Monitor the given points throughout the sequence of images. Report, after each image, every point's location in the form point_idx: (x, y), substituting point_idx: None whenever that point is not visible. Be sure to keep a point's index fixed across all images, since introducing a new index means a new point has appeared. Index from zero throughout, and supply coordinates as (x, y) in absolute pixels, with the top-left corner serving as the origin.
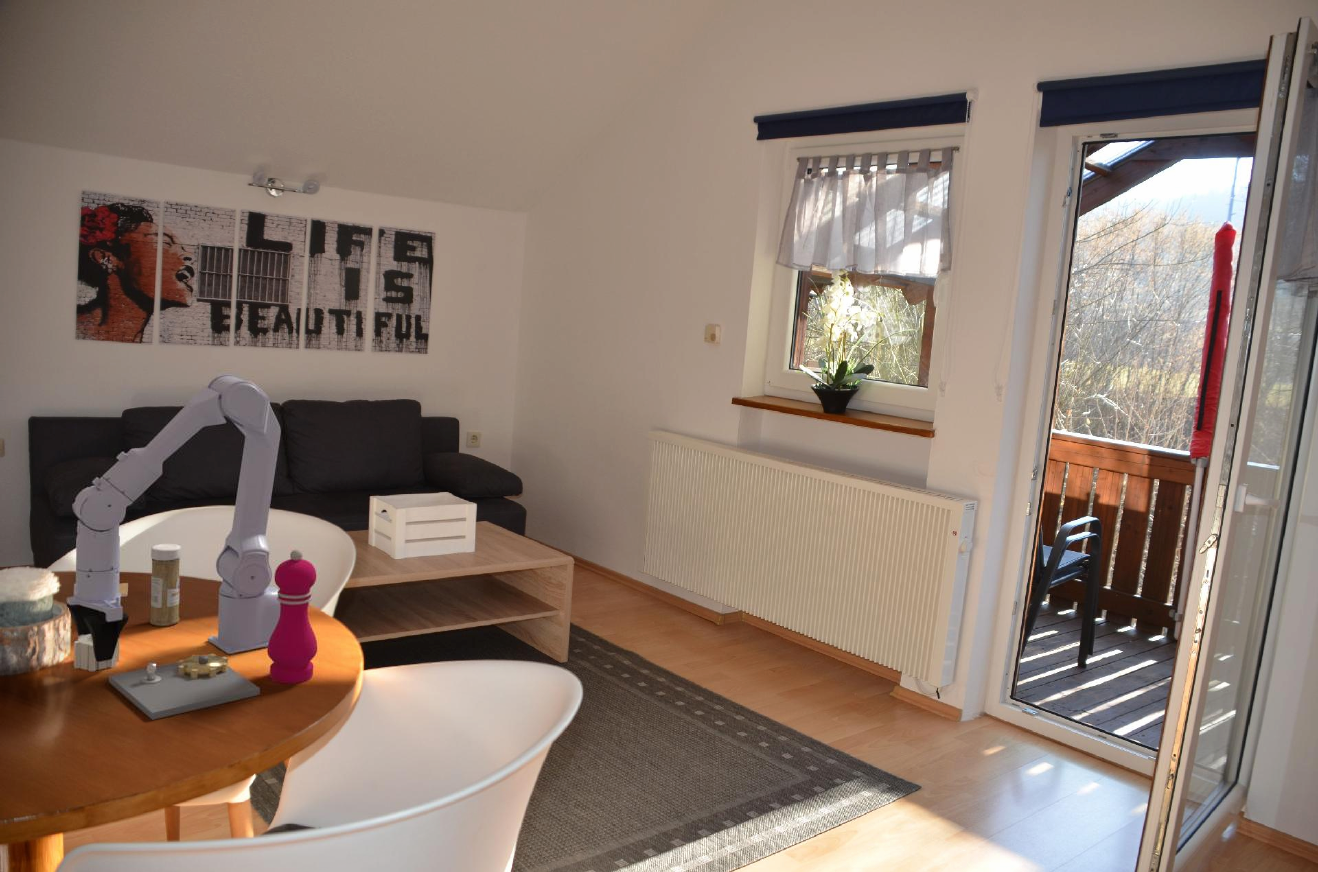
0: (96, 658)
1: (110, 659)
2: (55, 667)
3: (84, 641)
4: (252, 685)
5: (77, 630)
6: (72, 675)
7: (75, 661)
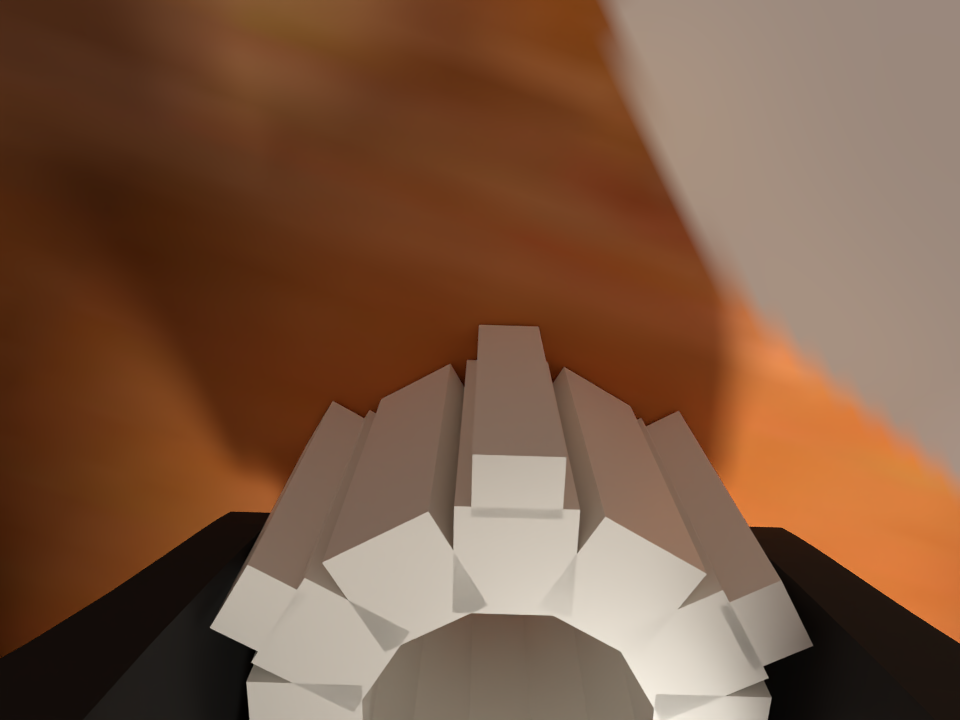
0: (214, 521)
1: None
2: (648, 167)
3: (478, 570)
4: None
5: (941, 645)
6: (301, 231)
7: (491, 348)
